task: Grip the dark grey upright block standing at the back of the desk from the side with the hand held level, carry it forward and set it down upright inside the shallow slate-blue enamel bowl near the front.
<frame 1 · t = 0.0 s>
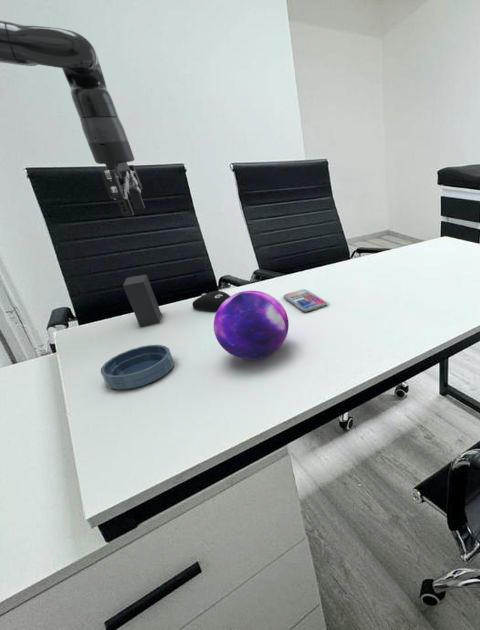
hand: (134, 212, 95), 29 cm above the table, tool pointing down, fingers open, 8 cm apart
decorative orb: (260, 354, 88), on the table
bowl: (142, 373, 83), on the table
smartphone: (305, 302, 113), on the table
computer mouse: (216, 307, 113), on the table
dark grey upright block: (151, 320, 106), on the table
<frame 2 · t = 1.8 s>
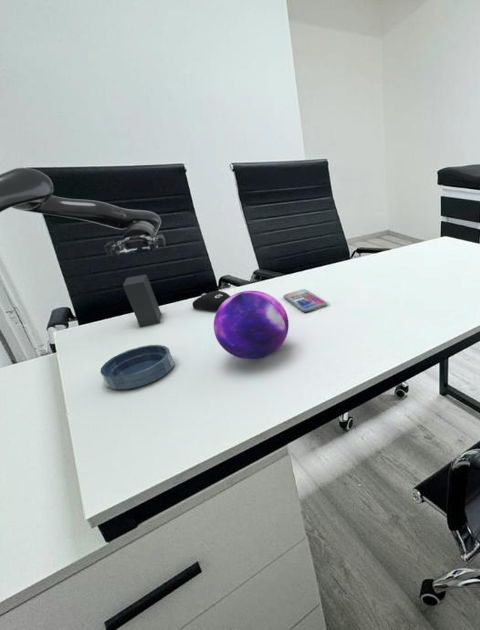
hand: (133, 250, 107), 17 cm above the table, tool horizontal, fingers open, 8 cm apart
nothing on the table moved.
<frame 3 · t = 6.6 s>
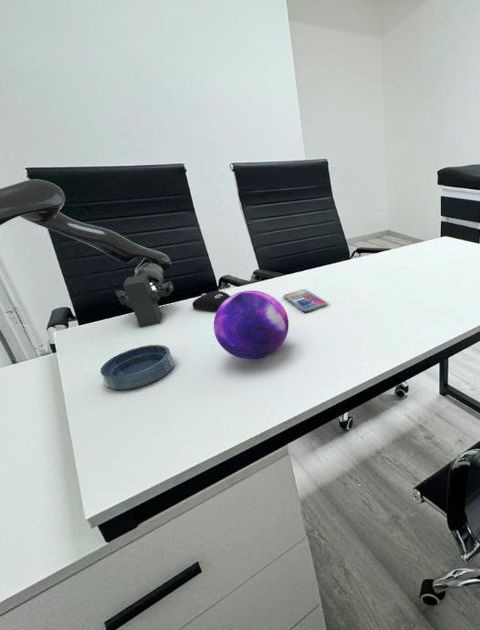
hand: (141, 302, 101), 7 cm above the table, tool horizontal, fingers closed on dark grey upright block, 4 cm apart
dark grey upright block: (151, 320, 106), on the table, touching gripper
everything else where it was.
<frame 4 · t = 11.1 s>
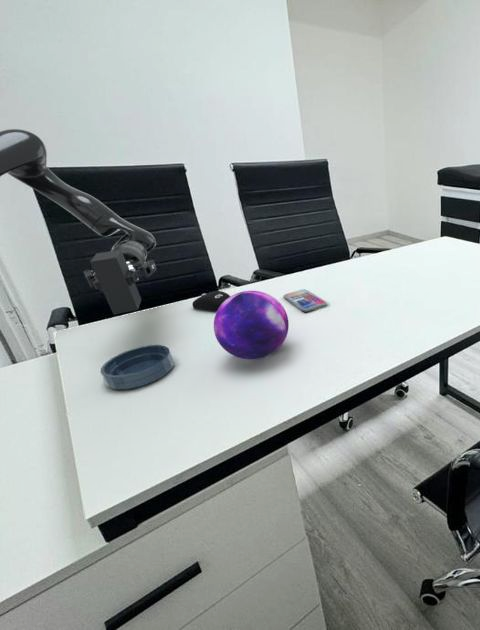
hand: (114, 283, 81), 18 cm above the table, tool horizontal, fingers closed on dark grey upright block, 4 cm apart
dark grey upright block: (128, 306, 86), point 11 cm above the table, touching gripper
everything else where it was.
when the fingers open (7 cm above the table, at t = 15.9 s): dark grey upright block stays where it is, resting on bowl.
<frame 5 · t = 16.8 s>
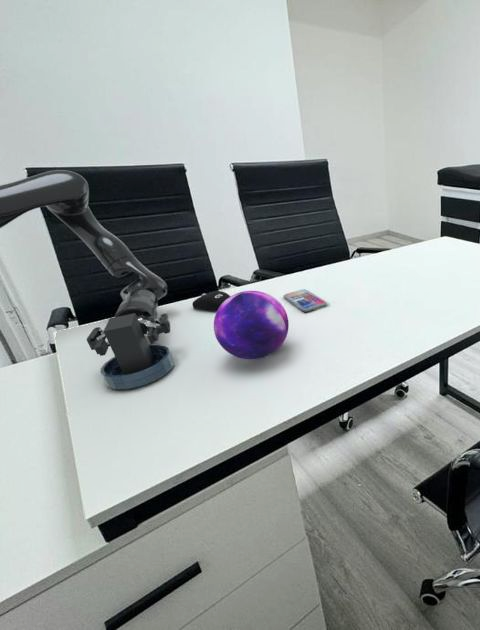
hand: (126, 345, 77), 8 cm above the table, tool horizontal, fingers open, 8 cm apart
dark grey upright block: (141, 371, 82), point 1 cm above the table, touching bowl
everything else where it was.
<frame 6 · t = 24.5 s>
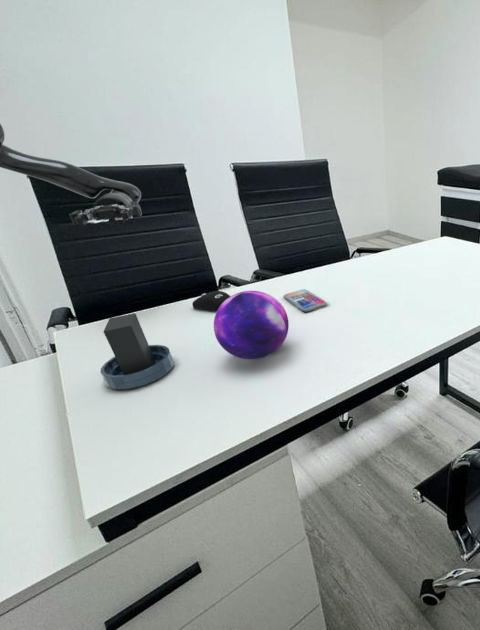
hand: (102, 218, 93), 28 cm above the table, tool horizontal, fingers open, 8 cm apart
nothing on the table moved.
at the end: dark grey upright block 0.1 cm off-centre in the bowl, point 0.5 cm above the bowl's base; dark grey upright block tilted 0°; the gripper is holding nothing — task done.
